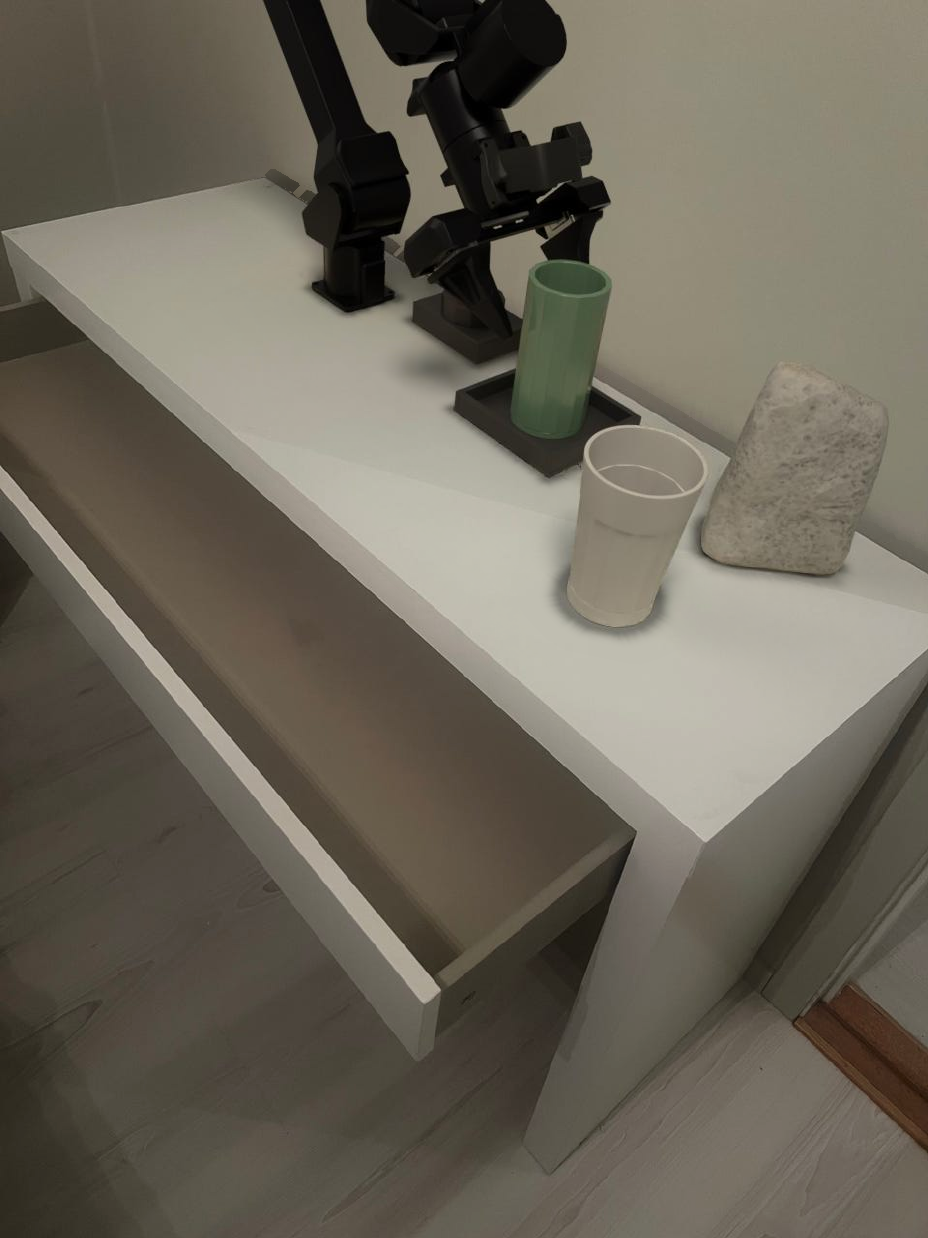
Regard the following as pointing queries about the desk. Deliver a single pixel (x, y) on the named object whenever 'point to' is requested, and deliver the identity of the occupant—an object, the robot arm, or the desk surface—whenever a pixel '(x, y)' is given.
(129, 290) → the desk surface
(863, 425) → the decorative stone
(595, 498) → the cup
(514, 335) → the push button box
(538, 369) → the canister
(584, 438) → the drip tray
